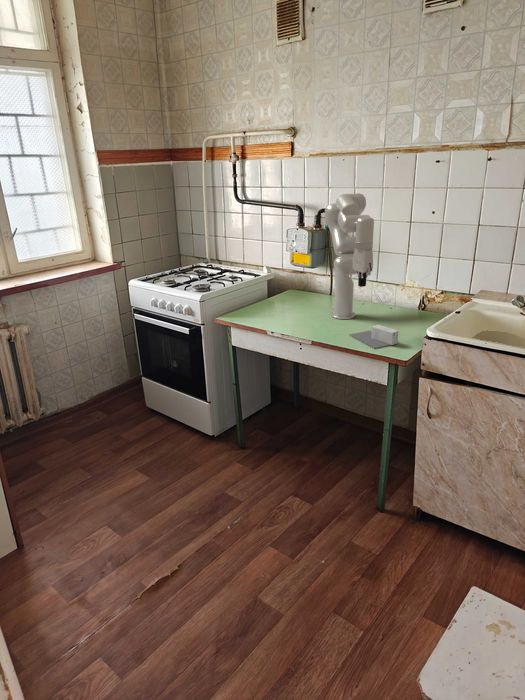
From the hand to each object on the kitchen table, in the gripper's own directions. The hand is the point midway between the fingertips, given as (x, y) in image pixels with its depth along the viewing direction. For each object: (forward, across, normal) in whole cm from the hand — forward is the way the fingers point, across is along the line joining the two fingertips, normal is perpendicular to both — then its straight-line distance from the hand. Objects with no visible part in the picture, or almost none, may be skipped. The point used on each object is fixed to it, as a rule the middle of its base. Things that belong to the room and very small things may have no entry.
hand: (362, 286), depth 229 cm
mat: (+23, +10, 0) cm, 25 cm away
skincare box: (+19, +9, +2) cm, 21 cm away
